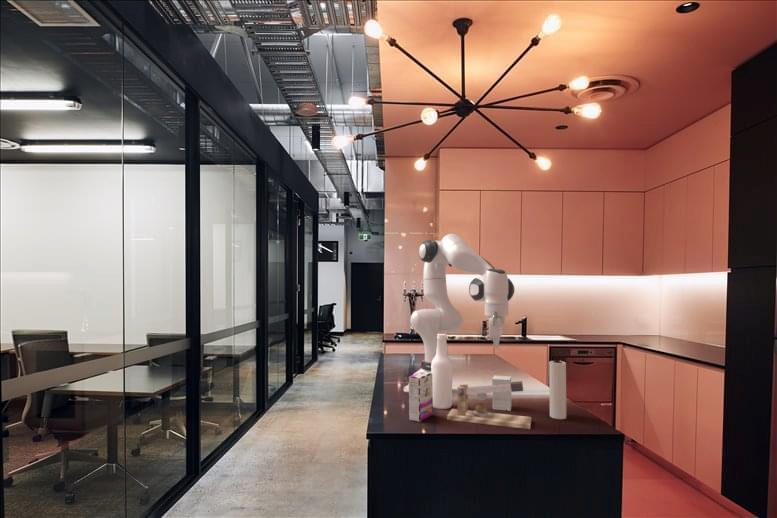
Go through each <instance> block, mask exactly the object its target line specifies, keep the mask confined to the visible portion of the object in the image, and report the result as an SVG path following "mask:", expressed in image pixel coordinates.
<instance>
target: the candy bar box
mask: <svg viewBox="0 0 777 518" xmlns="http://www.w3.org/2000/svg"><path fill="white" fill-rule="evenodd" d="M408 384H409V392H408V408H409V409H408V419H409V420H408V421H411V422H418V423H420V422H423V421H424V420H426V419H427V418H429V417H431V416H432V415H433V416H434V413H433V411H434V410H433V409H434V407H433V388H432V373H430V372H420V373H417V374H415V375H413V374H412V375H410V376H408Z"/></svg>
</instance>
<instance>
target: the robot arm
mask: <svg viewBox="0 0 777 518" xmlns="http://www.w3.org/2000/svg"><path fill="white" fill-rule="evenodd" d="M418 256H419V259H420V260H421V261H422V262H424V263H423V272H422V278H423V279H422V282H423V296H424V298H425V299H426V300H427V301H429V302H430V303H432V304H433V305H434V308H422V309H418V310H414V311H413V312H412V314H411V315H410V319H409V322H410V326H411V328H412V329H413V330H414V331H415V332H416V333H417V334H418V335H419V336H420V338H421V339H422V342H423V347H424V359H423V360H421V362H420V368H419V369H418V370H417V371H416V372H414V373H413V374H412V375H415V374H417V373H420V372H430V373H431V363H432V360H433V359H434V357H435V356H436V350H437V334H438V333H440V332H441V333H445V332H446V333H448V332H453V331H459V330H460V329H461V327H462V325H463V319H464V318H463V316H462V315H463V314H462V313H461V312H460V311H459V310H458V309H456V307H455V306H454V305H453V303H452V302H451V300H450V298H449V294H448V289H447V277H446V276H447V275H446V268H447V266H449V267H451V268H452V267H453V268H454V269H456V270H458V271H463V272H468V273H474V274H478V275H480V276H478V277H475V278H473V279H472V280H471V282H470V283H469V285H468V286H469V287H468V291H469V296H470V297H471V298H472V300H474V301H476V302H484V316H485V317H487V320H488V321H489V322H488V338H489V339H492V342H493V343H492V344H493V349H496V350H497V349H499V347H500V339H501V338H500V337H501V336H502V335H503V333H504V329H505V320H506V317H509V301H511V299H512V298H513V296H514V294H515V286H514V284H513V281H512V280H511V278H509V277H508V273H507V272H506V271H505V270H504V269H500V268H495V267H494V265H492V264H491V263H490V262H489V261H488V260H487V259H485V258H484V257H483V256H481V255H479V254H478V253H477V252H475V251H474V250H473V249H472V248H471V246H469V245H468V244H467V242H466V241H465V240H464V239H463V238H461V237H460V236H459V235H458V234H455V233H449V234H446V235H444V236H443V238H442V239H441V240H432V239H427V240H424V241H422V243H420V245H419V248H418ZM447 354H448V355H449V346H448V345H447ZM403 392H405V393H409V383H408V384H407V385H405V386H404V387H403Z"/></svg>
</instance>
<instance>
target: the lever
mask: <svg viewBox="0 0 777 518" xmlns="http://www.w3.org/2000/svg"><path fill="white" fill-rule="evenodd" d="M506 391H511V393H512V392H513V393H515V392H523V391H524V384H523V381H522V380H521V381H511V384H504V385H491V384H490V385H482V386H481V385H480V386H479V385H478V386H468V387H466V394H468V395H474V394H476V397H477V401H486V400H487V399H488V396H487V394H488V393H491V394H492V392H506Z"/></svg>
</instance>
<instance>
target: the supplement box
mask: <svg viewBox="0 0 777 518" xmlns="http://www.w3.org/2000/svg"><path fill="white" fill-rule="evenodd" d="M511 382H512V376H509V375H495V374H494V375H493V377H491V384H492V385H504V384H511ZM491 395H492V410H494V411H495V410H497V411H506V410H507V411H509V412H511V410H512V406H513V405H512V391H506V392H492V393H491Z"/></svg>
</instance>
